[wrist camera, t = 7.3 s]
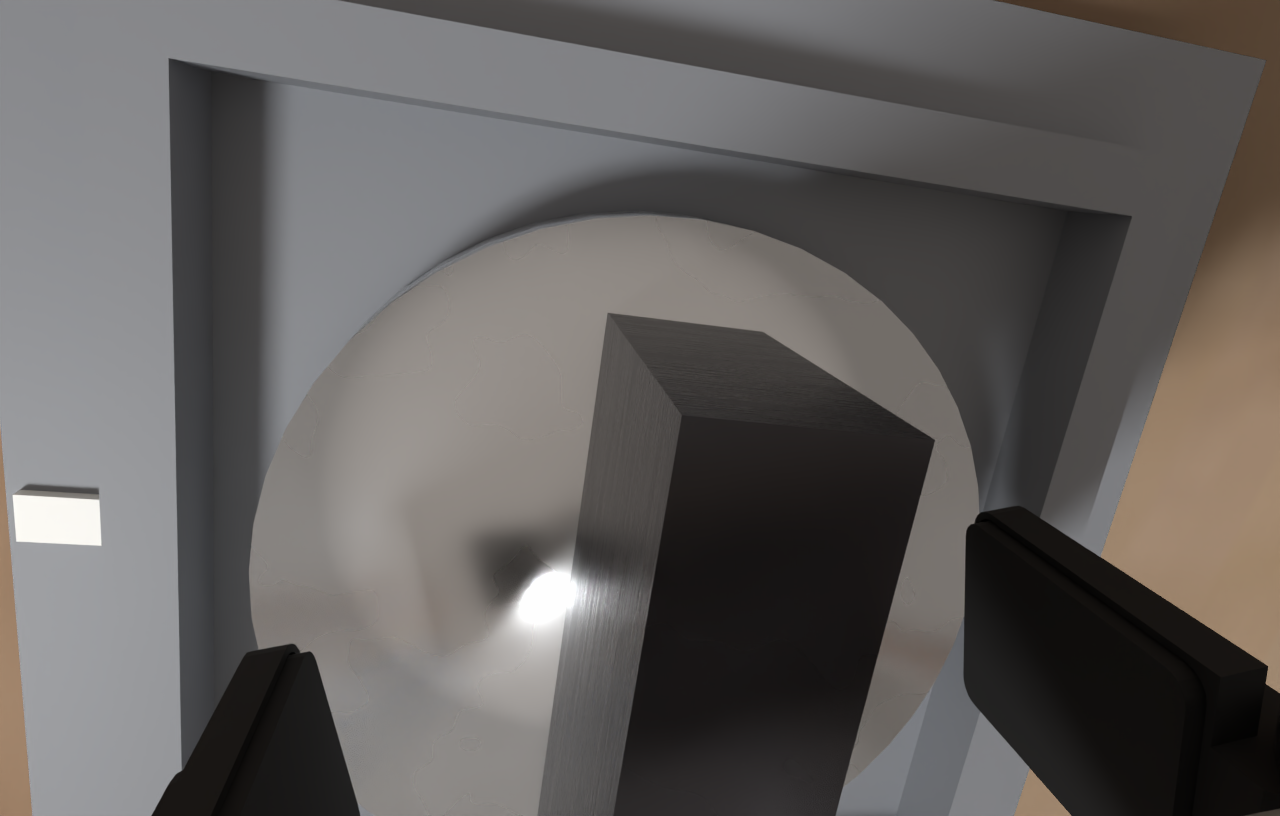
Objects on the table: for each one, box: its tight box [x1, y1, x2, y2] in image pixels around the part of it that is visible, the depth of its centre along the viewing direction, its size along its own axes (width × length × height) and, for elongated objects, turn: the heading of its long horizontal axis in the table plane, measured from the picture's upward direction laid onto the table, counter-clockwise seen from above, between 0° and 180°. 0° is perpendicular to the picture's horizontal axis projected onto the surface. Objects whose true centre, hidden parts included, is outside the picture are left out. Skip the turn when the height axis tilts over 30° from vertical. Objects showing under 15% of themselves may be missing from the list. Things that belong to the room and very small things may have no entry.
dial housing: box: [0, 0, 1266, 816], centre depth 14 cm, size 20×20×3 cm
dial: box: [249, 210, 979, 816], centre depth 11 cm, size 12×12×6 cm
